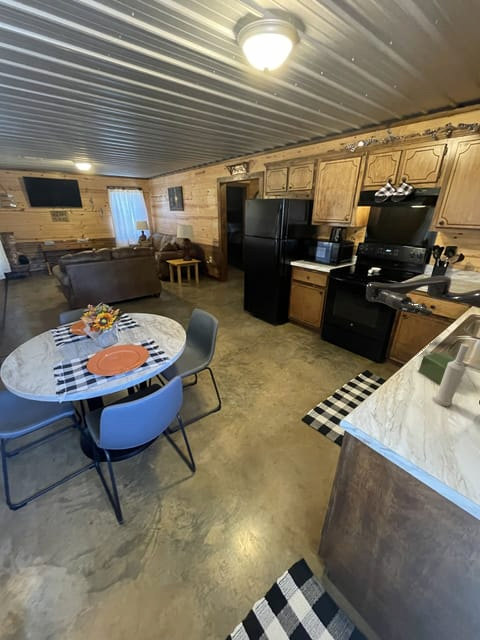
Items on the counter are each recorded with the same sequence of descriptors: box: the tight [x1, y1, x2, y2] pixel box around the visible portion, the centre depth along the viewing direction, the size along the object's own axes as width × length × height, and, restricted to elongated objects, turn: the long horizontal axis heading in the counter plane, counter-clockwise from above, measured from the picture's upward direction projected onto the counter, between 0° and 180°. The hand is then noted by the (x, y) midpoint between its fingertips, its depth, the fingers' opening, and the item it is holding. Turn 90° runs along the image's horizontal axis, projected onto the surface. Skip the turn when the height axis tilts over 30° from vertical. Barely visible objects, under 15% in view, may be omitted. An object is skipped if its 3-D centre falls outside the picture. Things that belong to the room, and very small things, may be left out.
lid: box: [422, 351, 469, 370], centre depth 112 cm, size 11×11×1 cm
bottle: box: [434, 343, 470, 407], centre depth 95 cm, size 5×5×25 cm
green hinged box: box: [418, 356, 445, 386], centre depth 114 cm, size 10×11×8 cm
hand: (430, 314), depth 115 cm, fingers closed
